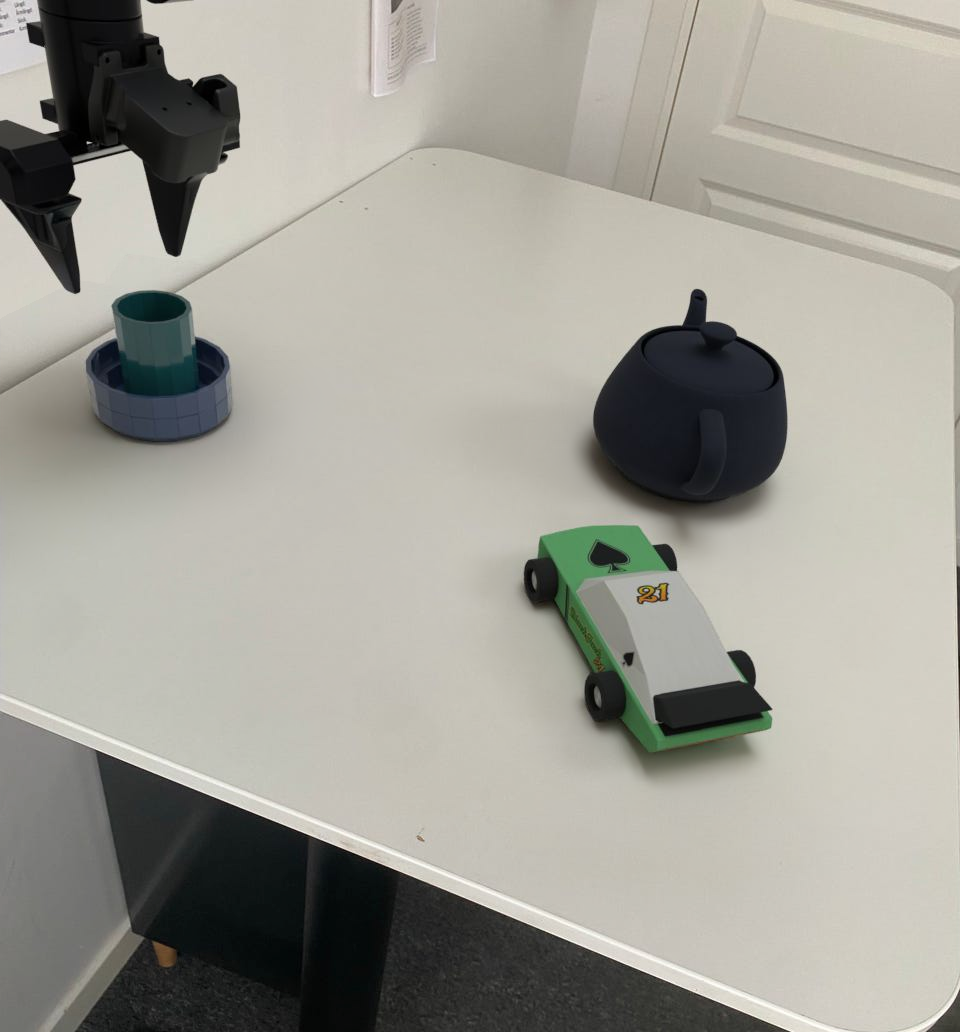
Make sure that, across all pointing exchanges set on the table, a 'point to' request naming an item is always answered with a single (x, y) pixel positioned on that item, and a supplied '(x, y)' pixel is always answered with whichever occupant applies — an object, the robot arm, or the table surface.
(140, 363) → the cup
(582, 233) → the table surface
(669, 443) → the teapot
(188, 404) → the bowl
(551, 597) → the toy car
